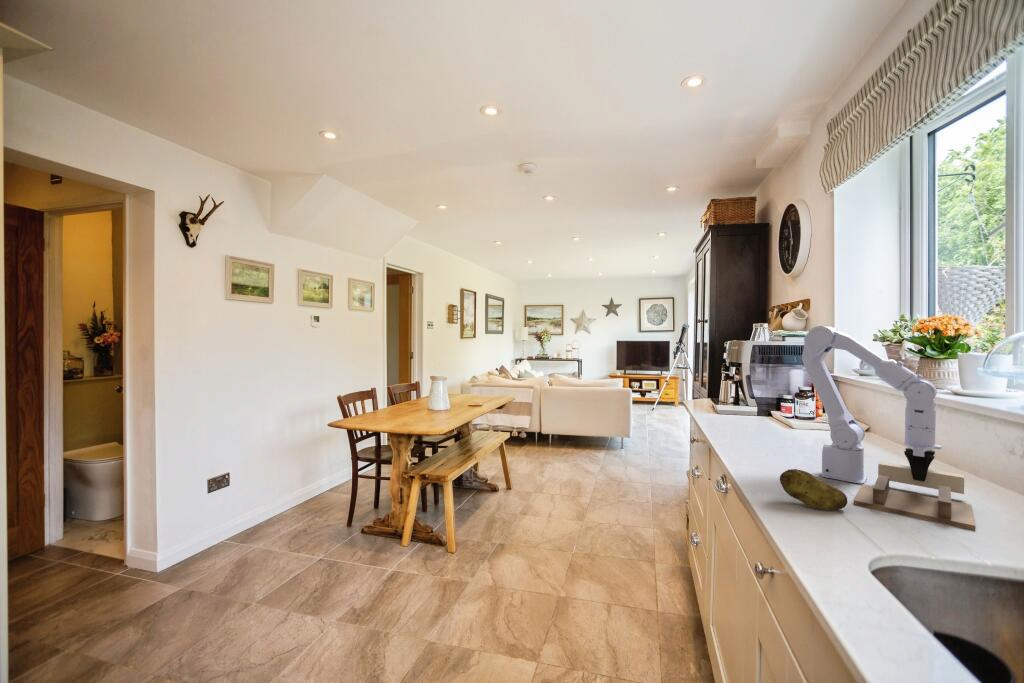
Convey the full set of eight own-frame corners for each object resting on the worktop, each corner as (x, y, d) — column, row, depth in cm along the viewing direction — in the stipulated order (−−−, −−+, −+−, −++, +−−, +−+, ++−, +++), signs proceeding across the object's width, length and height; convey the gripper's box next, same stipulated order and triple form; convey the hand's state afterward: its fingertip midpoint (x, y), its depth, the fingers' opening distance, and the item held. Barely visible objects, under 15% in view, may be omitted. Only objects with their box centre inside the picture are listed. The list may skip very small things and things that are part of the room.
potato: (840, 519, 95) (840, 483, 95) (775, 502, 105) (775, 469, 105) (849, 509, 101) (850, 475, 101) (787, 494, 111) (787, 463, 111)
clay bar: (878, 478, 116) (878, 463, 116) (879, 476, 118) (879, 461, 118) (964, 494, 105) (964, 477, 105) (963, 491, 107) (963, 475, 107)
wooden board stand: (853, 504, 104) (853, 485, 104) (862, 487, 115) (862, 471, 115) (975, 530, 90) (975, 508, 90) (971, 508, 101) (971, 489, 101)
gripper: (941, 433, 103) (941, 489, 104) (941, 424, 114) (940, 475, 114) (902, 428, 108) (901, 482, 109) (905, 421, 119) (904, 470, 119)
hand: (919, 478), depth 112 cm, fingers closed on clay bar, 3 cm apart
